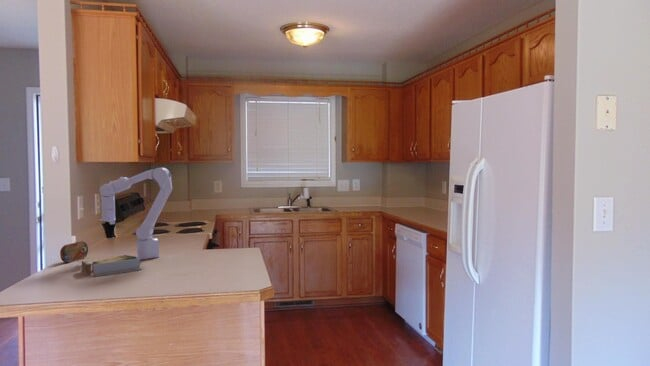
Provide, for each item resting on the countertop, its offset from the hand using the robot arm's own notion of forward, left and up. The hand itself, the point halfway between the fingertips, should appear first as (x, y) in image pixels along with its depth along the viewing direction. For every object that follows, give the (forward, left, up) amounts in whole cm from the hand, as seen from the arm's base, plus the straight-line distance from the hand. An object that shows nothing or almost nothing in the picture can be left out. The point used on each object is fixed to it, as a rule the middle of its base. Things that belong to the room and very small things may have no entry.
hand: (109, 238), depth 213 cm
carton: (+2, +20, -10) cm, 23 cm away
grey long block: (+3, +30, -10) cm, 32 cm away
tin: (+14, -6, -10) cm, 18 cm away
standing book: (+14, +24, -10) cm, 29 cm away
